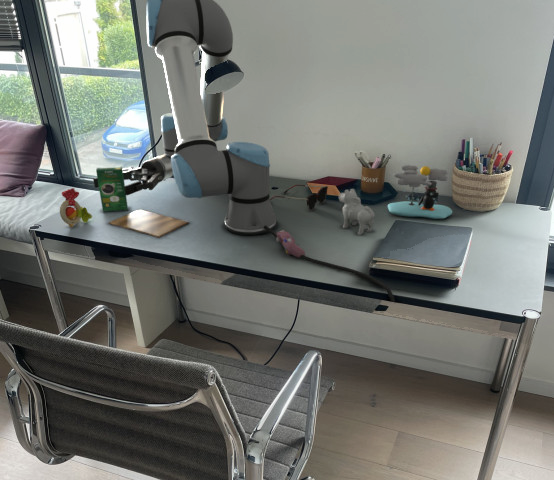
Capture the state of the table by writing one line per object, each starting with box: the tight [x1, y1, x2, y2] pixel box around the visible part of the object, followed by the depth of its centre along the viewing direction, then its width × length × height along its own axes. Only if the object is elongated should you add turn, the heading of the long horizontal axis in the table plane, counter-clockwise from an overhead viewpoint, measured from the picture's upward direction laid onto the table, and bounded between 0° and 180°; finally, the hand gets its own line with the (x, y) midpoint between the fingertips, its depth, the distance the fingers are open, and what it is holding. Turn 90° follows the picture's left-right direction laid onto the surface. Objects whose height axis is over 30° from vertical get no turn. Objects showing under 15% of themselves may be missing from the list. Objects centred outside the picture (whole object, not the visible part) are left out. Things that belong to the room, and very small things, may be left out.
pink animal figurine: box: [275, 229, 306, 259], centre depth 151 cm, size 10×5×7 cm, turn 17°
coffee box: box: [96, 166, 129, 212], centre depth 176 cm, size 8×3×13 cm, turn 101°
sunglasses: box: [270, 184, 329, 211], centre depth 184 cm, size 14×16×5 cm
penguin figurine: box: [387, 164, 453, 220], centre depth 171 cm, size 20×11×15 cm, turn 72°
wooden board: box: [109, 208, 189, 238], centre depth 170 cm, size 20×13×1 cm, turn 57°
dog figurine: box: [338, 188, 375, 236], centre depth 164 cm, size 5×13×11 cm, turn 38°
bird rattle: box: [59, 187, 93, 228], centre depth 167 cm, size 6×11×9 cm
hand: (109, 187), depth 175 cm, fingers open, 13 cm apart
